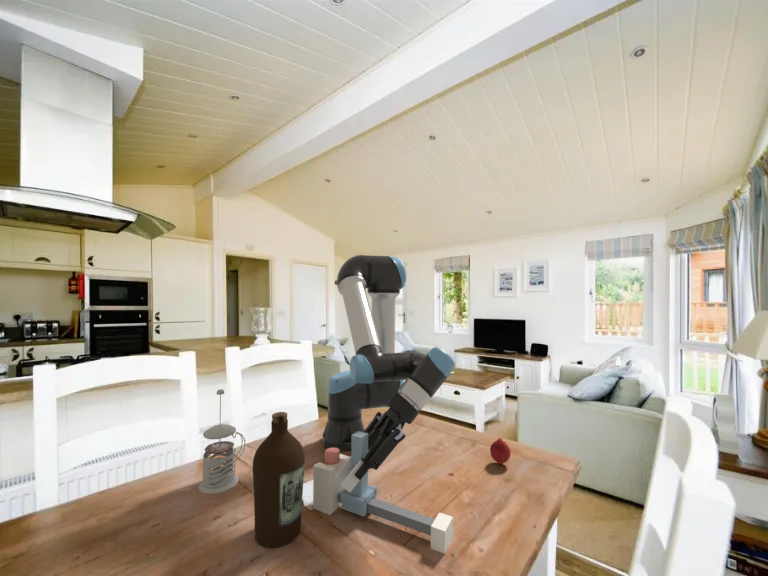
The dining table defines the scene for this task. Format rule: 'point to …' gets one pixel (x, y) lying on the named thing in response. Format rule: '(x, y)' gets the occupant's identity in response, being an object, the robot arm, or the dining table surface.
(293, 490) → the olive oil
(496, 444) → the onion
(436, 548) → the slide rail
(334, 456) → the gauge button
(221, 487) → the french press
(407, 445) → the dining table surface
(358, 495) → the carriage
